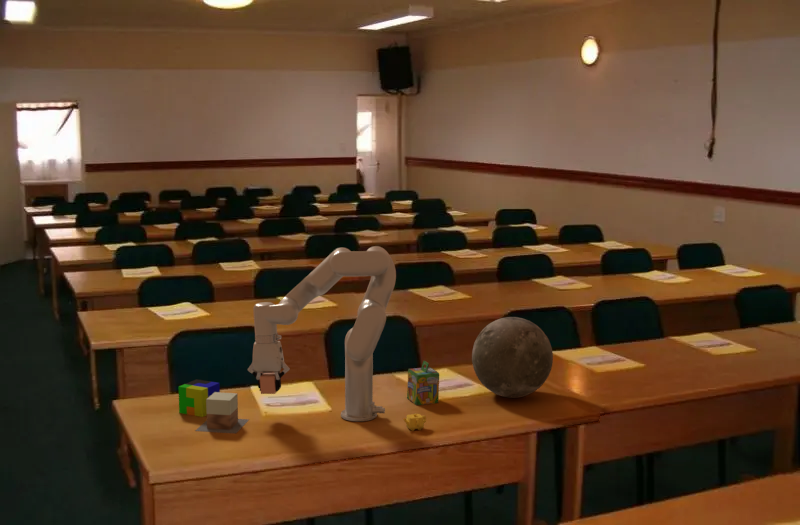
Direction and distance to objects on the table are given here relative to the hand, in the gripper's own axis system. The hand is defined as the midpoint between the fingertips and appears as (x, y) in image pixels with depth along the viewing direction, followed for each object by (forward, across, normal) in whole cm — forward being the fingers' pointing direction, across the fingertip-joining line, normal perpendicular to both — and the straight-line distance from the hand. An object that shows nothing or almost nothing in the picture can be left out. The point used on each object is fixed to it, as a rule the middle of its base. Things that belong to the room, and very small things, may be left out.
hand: (269, 389), depth 304 cm
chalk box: (+13, -49, -28) cm, 58 cm away
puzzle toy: (+9, +27, -2) cm, 28 cm away
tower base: (+9, +14, +11) cm, 20 cm away
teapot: (+13, -50, +3) cm, 52 cm away
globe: (+15, -81, -40) cm, 92 cm away
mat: (+9, +14, +11) cm, 20 cm away
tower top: (+4, +13, +11) cm, 18 cm away
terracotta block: (+1, 0, 0) cm, 1 cm away
